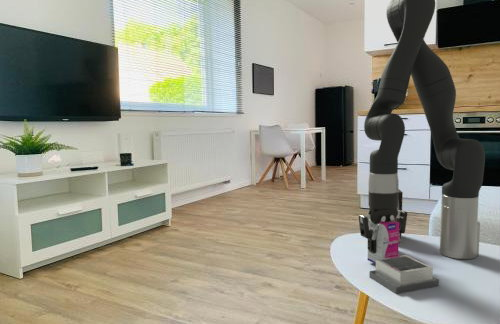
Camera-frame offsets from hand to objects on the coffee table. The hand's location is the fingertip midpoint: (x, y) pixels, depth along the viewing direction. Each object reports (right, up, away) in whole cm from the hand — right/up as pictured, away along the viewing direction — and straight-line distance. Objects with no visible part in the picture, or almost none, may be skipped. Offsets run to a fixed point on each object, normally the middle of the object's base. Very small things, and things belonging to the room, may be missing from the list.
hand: (382, 250), depth 105 cm
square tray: (+1, -5, -11) cm, 12 cm away
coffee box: (+10, -1, +24) cm, 26 cm away
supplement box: (0, -3, 0) cm, 3 cm away
